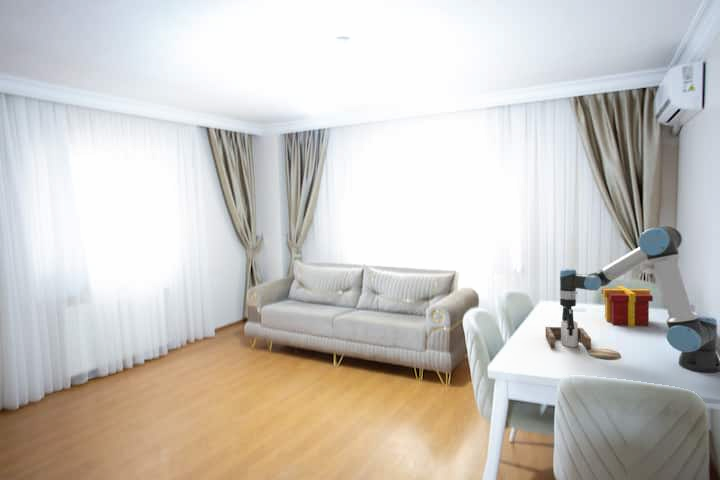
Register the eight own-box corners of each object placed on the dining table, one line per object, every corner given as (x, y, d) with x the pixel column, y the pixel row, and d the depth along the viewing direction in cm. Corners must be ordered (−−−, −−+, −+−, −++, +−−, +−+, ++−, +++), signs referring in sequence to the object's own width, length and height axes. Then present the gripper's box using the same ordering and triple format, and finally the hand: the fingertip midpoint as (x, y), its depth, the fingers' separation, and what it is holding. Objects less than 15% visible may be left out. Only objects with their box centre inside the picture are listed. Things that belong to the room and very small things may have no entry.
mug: (572, 349, 228) (572, 326, 227) (555, 346, 234) (555, 324, 233) (580, 344, 236) (580, 321, 235) (564, 341, 242) (564, 319, 241)
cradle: (591, 350, 225) (591, 338, 225) (550, 348, 231) (550, 337, 230) (582, 338, 245) (582, 327, 245) (545, 337, 250) (545, 326, 250)
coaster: (624, 360, 210) (624, 358, 210) (591, 358, 214) (591, 356, 214) (615, 350, 223) (615, 349, 223) (585, 349, 227) (585, 347, 227)
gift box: (641, 317, 284) (642, 286, 282) (656, 328, 260) (656, 293, 258) (598, 316, 291) (598, 285, 289) (609, 326, 267) (609, 293, 265)
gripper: (580, 303, 220) (580, 345, 222) (571, 293, 244) (571, 331, 246) (564, 303, 222) (564, 344, 224) (556, 293, 246) (556, 330, 248)
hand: (567, 337), depth 235 cm, fingers open, 13 cm apart
